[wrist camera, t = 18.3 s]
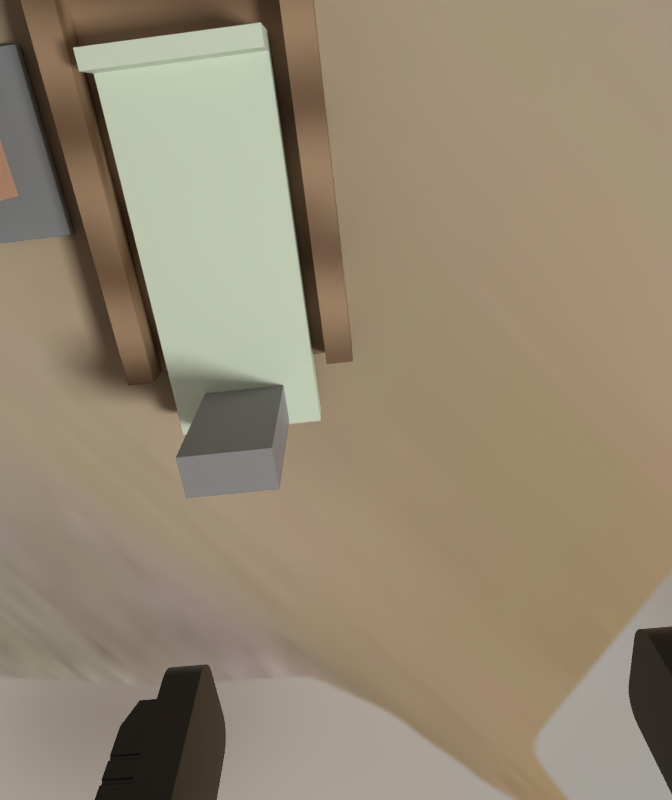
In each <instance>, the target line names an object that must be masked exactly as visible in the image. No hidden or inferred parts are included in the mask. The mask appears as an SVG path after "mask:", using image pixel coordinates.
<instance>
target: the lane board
mask: <svg viewBox="0 0 672 800" xmlns="http://www.w3.org/2000/svg"><path fill="white" fill-rule="evenodd" d="M20 1H21V4H22V8H23V11H24V15H25V18H26V22H27V26H28V29H29V33H30V36H31V40H32V43H33V47H34V51H35V54H36V58H37V61H38V65H39V68H40V72H41V76H42V79H43V83H44V86H45V90H46V93H47V97H48V100H49V104H50V108H51V111H52V115H53V118H54V122H55V125H56V129H57V133H58V136H59V140H60V143H61V147H62V150H63V154H64V158H65V161H66V165H67V168H68V172H69V175H70V179H71V183H72V186H73V190H74V193H75V197H76V200H77V204H78V207H79V211H80V215H81V218H82V222H83V225H84V229H85V232H86V236H87V240H88V243H89V247H90V250H91V254H92V257H93V261H94V265H95V268H96V272H97V275H98V279H99V282H100V286H101V289H102V293H103V297H104V300H105V304H106V307H107V311H108V314H109V318H110V322H111V325H112V329H113V332H114V336H115V339H116V343H117V347H118V350H119V354H120V357H121V361H122V364H123V368H124V372H125V375H126V379H127V382H128V385H137V384H146V383H154V381H155V380H156V378H157V377H158V375H159V374H160V372H161V371H162V370H167V367H166V363H165V359H164V355H163V351H162V347H161V342H160V338H159V334H158V330H157V326H156V322H155V318H154V314H153V310H152V306H151V302H150V298H149V294H148V290H147V286H146V282H145V278H144V274H143V270H142V266H141V262H140V258H139V254H138V250H137V246H136V242H135V238H134V234H133V230H132V226H131V222H130V218H129V214H128V210H127V206H126V202H125V198H124V194H123V190H122V186H121V182H120V178H119V174H118V169H117V165H116V161H115V157H114V153H113V149H112V145H111V141H110V137H109V133H108V129H107V125H106V121H105V117H104V113H103V109H102V105H101V101H100V97H99V93H98V89H97V85H96V81H95V77H94V74H93V73H86V72H80V71H79V69H78V65H77V61H76V58H75V54H74V50H73V48H74V47H82V46H89V45H97V44H104V43H111V42H119V41H126V40H134V39H141V38H149V37H156V36H164V35H171V34H179V33H186V32H193V31H201V30H208V29H216V28H223V27H231V26H238V25H246V24H253V23H260V22H261V23H262V25H263V26H264V27H265V28H266V29H267V31H268V36H269V43H270V50H271V57H272V64H273V72H274V79H275V86H276V93H277V100H278V107H279V115H280V122H281V129H282V136H283V143H284V150H285V158H286V165H287V172H288V179H289V186H290V193H291V201H292V208H293V215H294V222H295V229H296V236H297V244H298V251H299V258H300V265H301V272H302V279H303V287H304V294H305V301H306V308H307V315H308V322H309V330H310V337H311V344H312V351H313V354H317V353H325V354H326V362H327V364H331V363H340V362H350V361H353V357H352V344H351V335H350V326H349V317H348V308H347V299H346V290H345V281H344V271H343V262H342V253H341V244H340V235H339V226H338V217H337V208H336V199H335V190H334V181H333V172H332V163H331V154H330V145H329V136H328V127H327V118H326V109H325V100H324V91H323V82H322V73H321V64H320V55H319V46H318V36H317V27H316V18H315V9H314V0H20Z"/></svg>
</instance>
